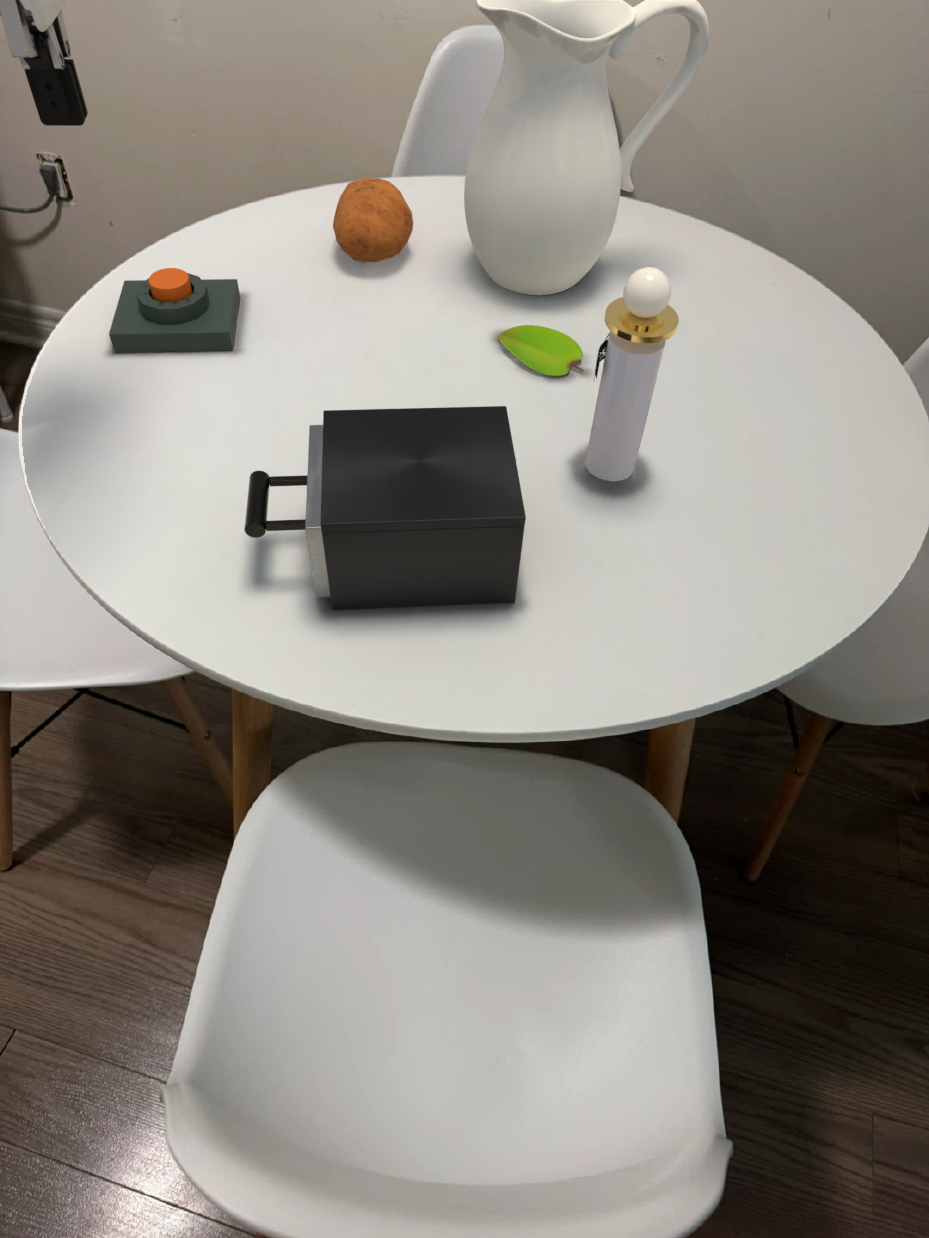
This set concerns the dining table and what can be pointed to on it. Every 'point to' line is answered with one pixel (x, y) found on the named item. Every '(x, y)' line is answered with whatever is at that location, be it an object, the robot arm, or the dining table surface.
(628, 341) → the perfume bottle
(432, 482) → the cabinet
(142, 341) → the control block
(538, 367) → the decorative leaf
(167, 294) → the button
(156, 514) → the dining table surface
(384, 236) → the potato
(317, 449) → the drawer
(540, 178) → the pitcher
